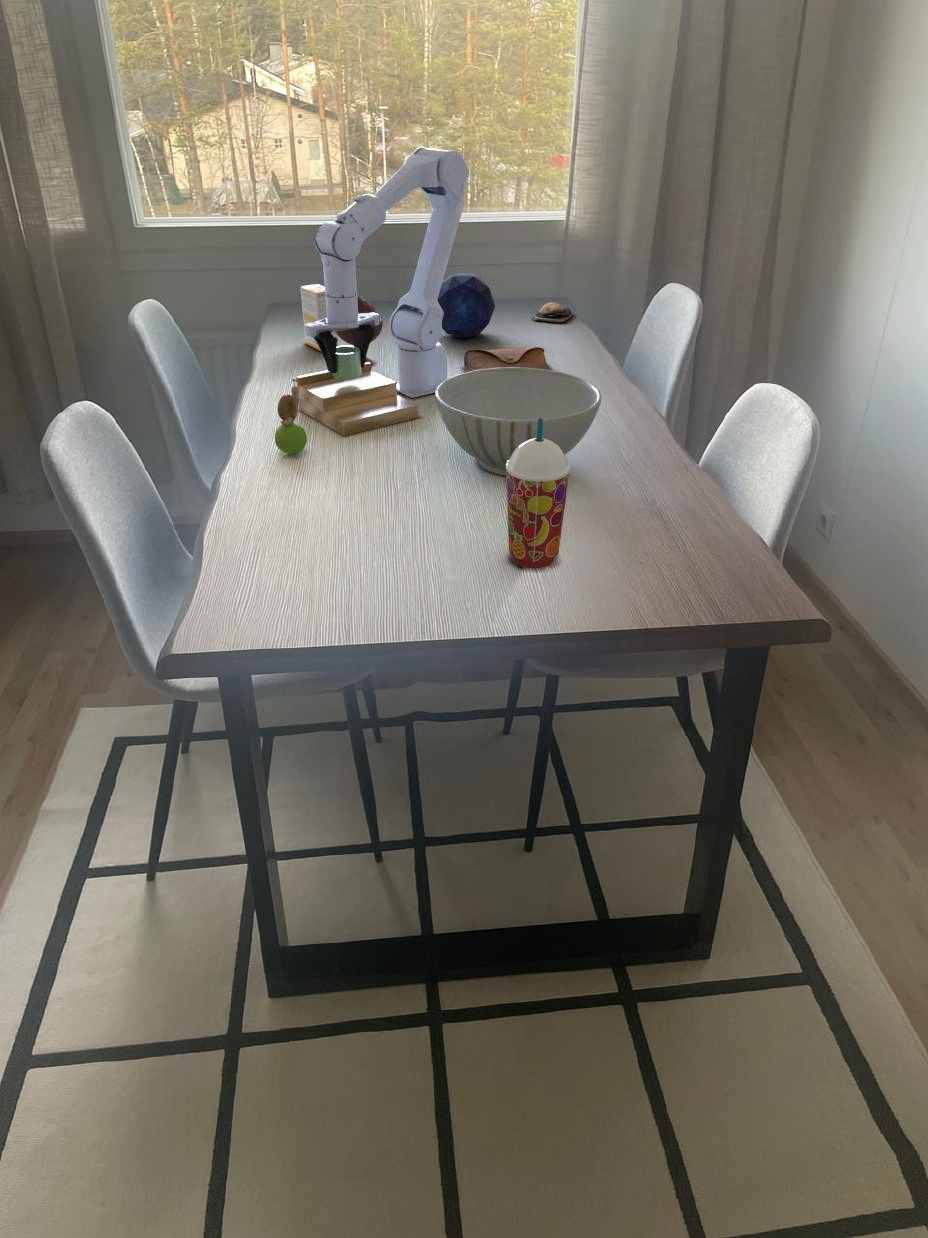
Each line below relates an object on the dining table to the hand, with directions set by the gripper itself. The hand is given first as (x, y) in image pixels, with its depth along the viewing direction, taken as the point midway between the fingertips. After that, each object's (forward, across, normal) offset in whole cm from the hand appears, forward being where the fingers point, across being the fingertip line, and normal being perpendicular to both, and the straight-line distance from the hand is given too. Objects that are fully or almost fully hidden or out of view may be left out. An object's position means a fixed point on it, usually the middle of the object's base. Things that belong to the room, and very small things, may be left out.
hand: (346, 368), depth 173 cm
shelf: (+8, 0, -4) cm, 8 cm away
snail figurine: (+8, -19, -14) cm, 25 cm away
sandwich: (+8, +78, +28) cm, 83 cm away
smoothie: (+8, -11, -68) cm, 69 cm away
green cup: (+1, 0, 0) cm, 1 cm away
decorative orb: (+8, +49, +28) cm, 57 cm away
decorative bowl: (+8, +9, -40) cm, 41 cm away
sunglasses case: (+8, +40, 0) cm, 41 cm away
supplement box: (+8, +17, +40) cm, 45 cm away
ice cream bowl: (+8, +17, +24) cm, 30 cm away
